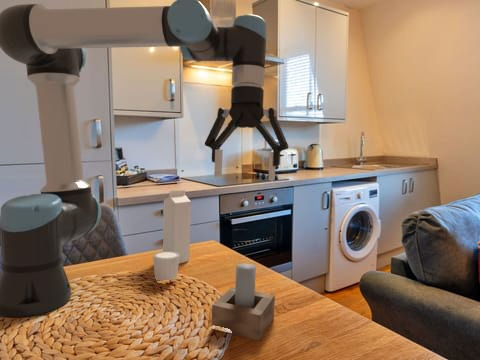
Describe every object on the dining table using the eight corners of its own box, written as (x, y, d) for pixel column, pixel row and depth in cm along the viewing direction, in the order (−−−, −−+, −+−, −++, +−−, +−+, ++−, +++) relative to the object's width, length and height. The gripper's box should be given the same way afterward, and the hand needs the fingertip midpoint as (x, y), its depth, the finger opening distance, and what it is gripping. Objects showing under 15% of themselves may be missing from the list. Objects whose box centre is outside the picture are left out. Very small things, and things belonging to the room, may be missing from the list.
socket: (211, 329, 71) (212, 305, 70) (230, 308, 80) (231, 287, 80) (259, 340, 67) (260, 315, 67) (273, 317, 77) (274, 295, 76)
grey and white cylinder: (173, 286, 91) (173, 259, 91) (148, 283, 93) (148, 257, 92) (182, 277, 98) (183, 252, 97) (159, 274, 99) (159, 249, 99)
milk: (162, 260, 111) (163, 190, 109) (178, 256, 116) (179, 188, 114) (174, 265, 107) (175, 192, 105) (190, 261, 112) (191, 191, 110)
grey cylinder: (230, 325, 73) (233, 268, 72) (238, 317, 76) (240, 262, 75) (249, 329, 71) (252, 271, 70) (255, 321, 75) (258, 265, 74)
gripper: (304, 88, 82) (299, 180, 84) (206, 90, 91) (204, 173, 93) (297, 83, 75) (292, 183, 77) (192, 85, 84) (190, 175, 86)
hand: (244, 178), depth 85 cm, fingers open, 13 cm apart
